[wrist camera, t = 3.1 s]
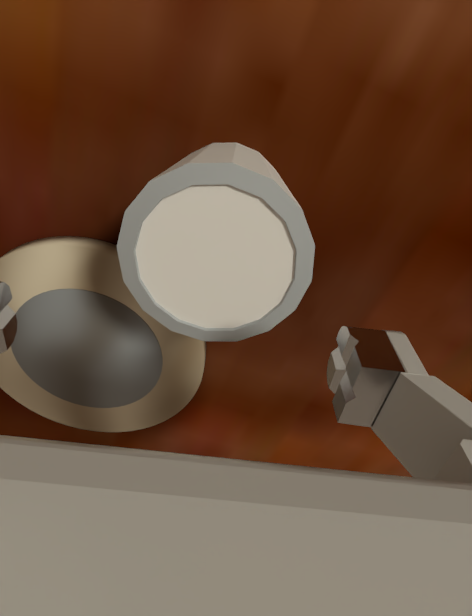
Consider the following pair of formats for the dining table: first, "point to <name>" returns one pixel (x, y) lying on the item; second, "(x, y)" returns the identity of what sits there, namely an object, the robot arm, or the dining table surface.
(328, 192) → the dining table surface
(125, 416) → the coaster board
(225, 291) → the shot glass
